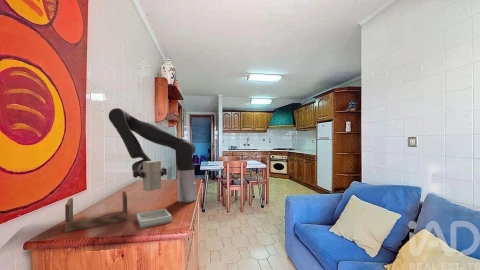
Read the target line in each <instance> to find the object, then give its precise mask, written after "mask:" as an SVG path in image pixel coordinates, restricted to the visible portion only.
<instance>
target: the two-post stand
mask: <svg viewBox="0 0 480 270" xmlns="http://www.w3.org/2000/svg"><path fill="white" fill-rule="evenodd" d="M121 195H122V199H121V200H122V213H115V214H110V215H104V216H98V217H93V218H87V219H82V220H77V221H74V198H73V197H71V198H68V200H67V201H66V203H65V205H64V209H65V210H64V213H65V218H64V219H65V223H64V232H65V233H67V232H73V231H78V230H83V229H84V230H85V229H88V228H93V227H99V226H103V225H108V224H115V223H120V222H123V221H124V222H125V221H128V220H129V219H128V218H129V217H128V215H129V214H128V213H129V212H128V195H127V193H126V191H122V193H121Z"/></svg>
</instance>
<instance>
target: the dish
mask: <svg viewBox="0 0 480 270" xmlns="http://www.w3.org/2000/svg"><path fill="white" fill-rule="evenodd" d="M172 216H173V215H171V213H170V212H169V211H168V210H167V209H166V208H160V209H154V210H148V211H143V212H138V213H136V221H137V224H138V227H139V229H140V230H141V229H145V228H149V227H154V226H159V225H160V226H161V225H163V224H164V225H165V224H168V223H172V222H173V217H172Z"/></svg>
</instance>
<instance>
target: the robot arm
mask: <svg viewBox="0 0 480 270" xmlns="http://www.w3.org/2000/svg"><path fill="white" fill-rule="evenodd" d="M108 120H109V122H110V123H111V124H112V126H113V127H114V129H115V130H116V132H117V133H118V134H119V136H120V138H121V140H122V142H123V144H124V145H125V148H126V151H127V153H128V155H129V156H130V158H131V159H140V160H138V161H136V162H133V163H132V165H131V170H132V176H133V178H134V179H137V178H138V177H139V178H140V179H143V178H144V172H143V162H145V161H152V159H151V158H150V157H149V155H147V154H146V152H144V150H143V148H142V145H141V144H140V142H139V140H138V139H137V137H136V136H135V134H136V135H139V136H140V137H141V138H143V139H144V140H147V141H149V142H151V143H153V144H156V145H160V146H164V147H168V148H170V149H172V150H175V151H174V153H175V165H176V168H177V174H176V176H177V177H176V178H177V202H179V203H191V202H194V201H197V183H196V182H195V181H196V180H195V164H194V162H193V155H194V154H195V153H196V146H195V145H194V143H193V142H192V141H189V140H186V139H183V138H181V137H178V136H176V135H174V134H172V133H170V132H169V131H168V130H165V129H163V128H161V127H160V126H157V125H155V124H152V123H150V122H147V121H146V122H145V121H142V120H141V119H138V118H136V117H134V116H132V115H131V114H130V113H129V112H127V111H125V110H124V109H122V108H119V107H117V108H112V109H111V110H110V111H109V112H108ZM134 133H135V134H134ZM167 170H168V169H167V168H166V167H161V177H164V176H167V174H168V171H167Z"/></svg>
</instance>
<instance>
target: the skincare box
mask: <svg viewBox="0 0 480 270" xmlns="http://www.w3.org/2000/svg"><path fill="white" fill-rule="evenodd" d="M161 169H162V161H161V160H158V159H157V160H156V159H155V160H151V161H145V162H143V172H144V178H142V183H143V184H142V186H143V187H142V188H143V191H145V192H153V191H156V190H160V189H162V176H161Z"/></svg>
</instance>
